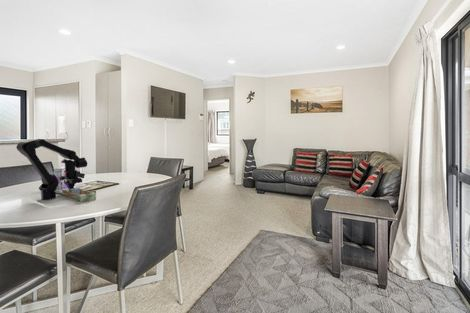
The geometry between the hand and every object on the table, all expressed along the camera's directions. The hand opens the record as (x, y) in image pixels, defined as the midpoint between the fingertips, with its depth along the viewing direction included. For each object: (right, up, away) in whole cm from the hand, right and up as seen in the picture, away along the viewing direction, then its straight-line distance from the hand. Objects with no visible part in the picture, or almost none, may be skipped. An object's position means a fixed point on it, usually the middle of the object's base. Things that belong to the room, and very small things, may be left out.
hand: (71, 191), depth 171 cm
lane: (+10, -3, -3) cm, 11 cm away
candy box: (-17, -1, +19) cm, 26 cm away
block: (+4, -2, -2) cm, 4 cm away
